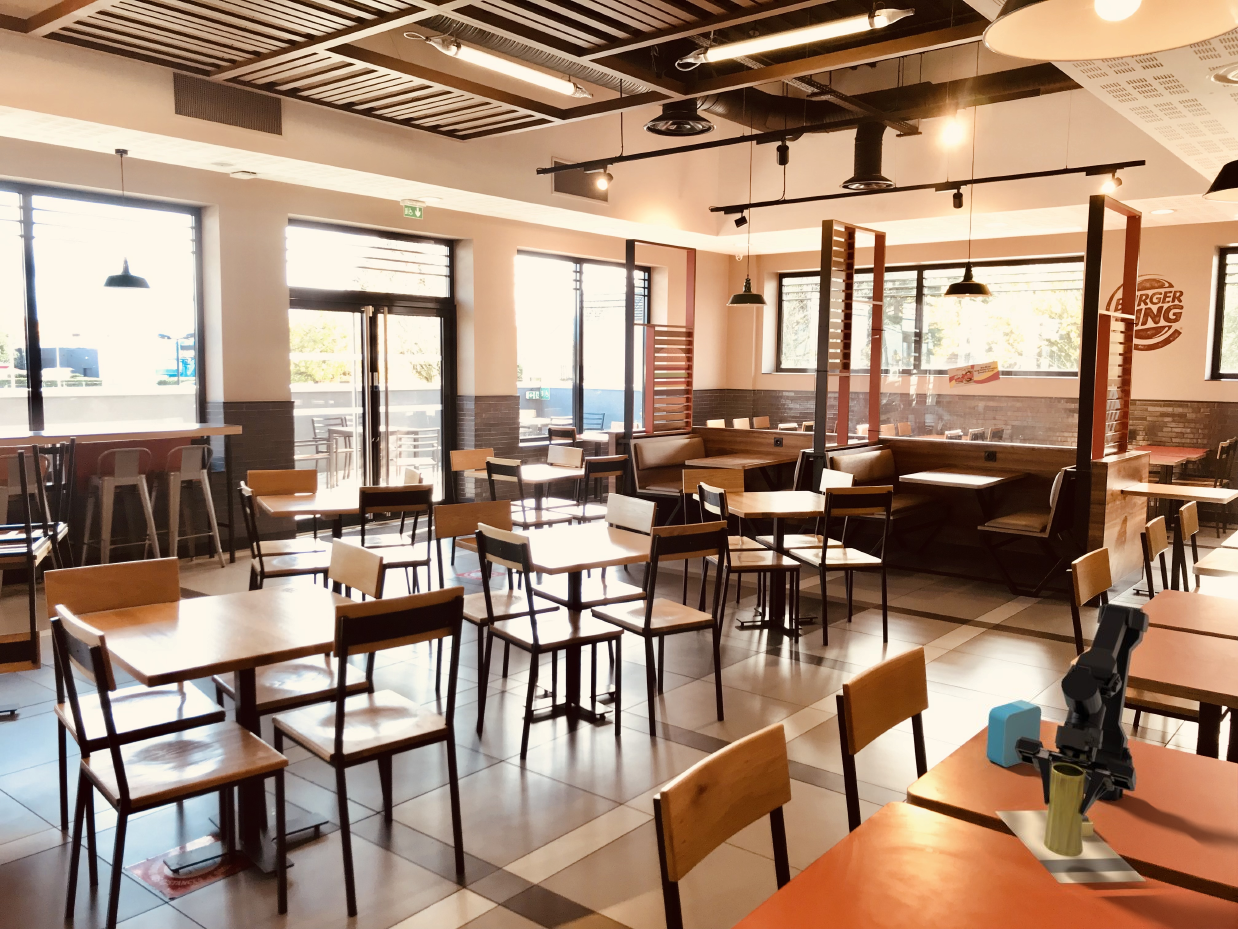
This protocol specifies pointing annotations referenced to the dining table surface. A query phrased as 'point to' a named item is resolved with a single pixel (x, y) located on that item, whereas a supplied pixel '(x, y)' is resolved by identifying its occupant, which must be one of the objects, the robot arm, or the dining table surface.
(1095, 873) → the subfloor panel
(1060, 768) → the vase
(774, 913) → the dining table surface
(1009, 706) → the blue rounded block
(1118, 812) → the dining table surface
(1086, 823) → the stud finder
